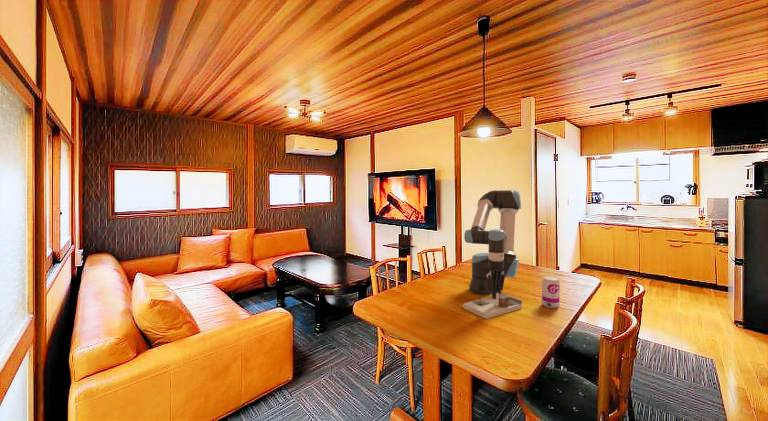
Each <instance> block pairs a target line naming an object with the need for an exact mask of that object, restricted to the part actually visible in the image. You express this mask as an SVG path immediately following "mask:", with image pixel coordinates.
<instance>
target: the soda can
mask: <svg viewBox="0 0 768 421" xmlns="http://www.w3.org/2000/svg"><path fill="white" fill-rule="evenodd" d="M541 281H542V284H541V285H542V287H541V288H542V289H541V291H542V292H541V304H542V305H543V307H545V308H550V309H557V308H559V307H560V296H561V295H560V290H561V288H560V286H561V282H560V280H559V278H558V277H554V276H544V277H543V279H542V280H541Z"/></svg>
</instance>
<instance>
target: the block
mask: <svg viewBox="0 0 768 421" xmlns="http://www.w3.org/2000/svg"><path fill="white" fill-rule="evenodd" d="M504 294H505V293H504ZM504 294H500V295H499V305H498V306H499V307H501V308H505V307H509V306H510V297H509V296H510V295H509V296H506V295H507V294H506V295H504Z"/></svg>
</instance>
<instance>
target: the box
mask: <svg viewBox="0 0 768 421" xmlns="http://www.w3.org/2000/svg"><path fill="white" fill-rule="evenodd" d="M500 294H504V295H506V296H509V297H510V306H509V307H505V308H501V307H499V306H496V305H494V304H493V299H492V295H491V296H488V297H484V298H483V297H482V298H479V299H475V300H471V301H468V302H464V303H463V306H462V307H463V308H462V309H465V310H467V311H468V312H471V313H473V314H475V315H476V316H477V315H478V316H479V317H481V318H484V319H485V320H487V319H491V318H494V317H497V316H500V315H505V314H507V313H511V312H513V311H517V310H521V309H522V308H523V304H522V303H523V301H522V299H520V298H517V297H514V296H511V295H509V294H507V293H503V292H501V293H499V295H500Z"/></svg>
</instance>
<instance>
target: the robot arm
mask: <svg viewBox="0 0 768 421" xmlns="http://www.w3.org/2000/svg"><path fill="white" fill-rule="evenodd" d="M521 201H522V200H521V194H520V191H519V190H516V189H510V190H508V189H505V190H502V189H501V190H490V191H487V193H484V194H483V195H482V196H481V197H480V198H479V200H478V202H477V204H476V205H477V206H476V207H477V210H476V212H475V216H474V218H473V222H472V225H471V228H470V229H466V230H465V231H464V235H463V236H464V238H463V239H464V242H465V243H467V244H478V245H488V252H479V253H475V254H473V255H472V256H471V279H470V283H469V285H468V291H469V292H471V293H474V294H477V295H491V296H492V299H493V304H494V305H496V306H498V305H499V293H502V291H503V289H504V285H505V279H506V278H515V277H516V276H517V273H518V268H519V263H520V259H519V258H518V257H517V254H515V252H514V251H515V234H516V233H515V232H516V231H515V227H516V214H518V212H519V210H520V209H522V202H521ZM494 209H496V210H497V211H498V213H500V220H499V221H500V222H499V229H489V230H486V227H487V223H488V220H489V217H490V213H491V211H493V210H494Z"/></svg>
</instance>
